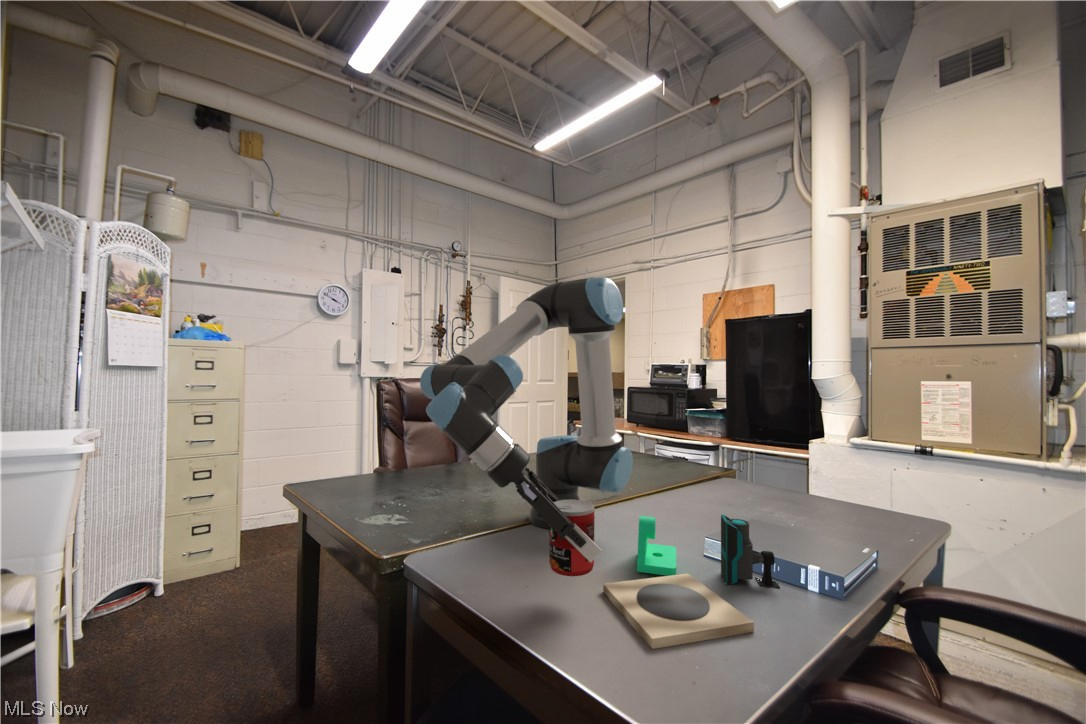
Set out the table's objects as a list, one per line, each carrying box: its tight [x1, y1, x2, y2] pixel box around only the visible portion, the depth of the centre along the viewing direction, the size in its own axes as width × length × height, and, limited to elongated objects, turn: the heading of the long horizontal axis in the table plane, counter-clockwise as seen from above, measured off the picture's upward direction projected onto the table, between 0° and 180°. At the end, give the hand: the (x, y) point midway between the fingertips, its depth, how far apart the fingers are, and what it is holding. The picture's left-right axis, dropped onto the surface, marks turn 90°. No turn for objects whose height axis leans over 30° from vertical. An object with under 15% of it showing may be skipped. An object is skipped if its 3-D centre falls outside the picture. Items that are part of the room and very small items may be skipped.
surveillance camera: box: [720, 514, 781, 589], centre depth 90 cm, size 6×12×10 cm
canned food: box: [548, 499, 596, 577], centre depth 80 cm, size 8×8×11 cm
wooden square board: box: [602, 573, 755, 650], centre depth 78 cm, size 18×18×2 cm
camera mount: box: [636, 515, 678, 576], centre depth 96 cm, size 12×8×10 cm, turn 164°
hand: (590, 546), depth 81 cm, fingers closed on canned food, 8 cm apart
